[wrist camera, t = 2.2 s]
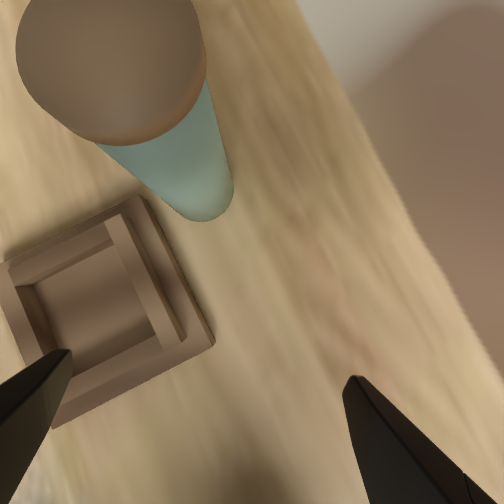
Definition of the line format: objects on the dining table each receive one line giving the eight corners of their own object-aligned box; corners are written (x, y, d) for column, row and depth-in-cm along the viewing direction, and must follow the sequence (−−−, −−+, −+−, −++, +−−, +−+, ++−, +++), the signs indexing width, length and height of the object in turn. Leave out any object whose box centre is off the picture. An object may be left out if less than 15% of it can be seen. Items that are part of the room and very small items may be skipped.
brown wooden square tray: (215, 341, 21) (208, 352, 18) (67, 419, 21) (35, 442, 18) (146, 200, 22) (129, 187, 19) (4, 271, 22) (-35, 269, 19)
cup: (197, 238, 22) (94, 168, 8) (152, 187, 22) (-22, 36, 8) (250, 192, 22) (238, 45, 8) (204, 142, 23) (119, -76, 9)
